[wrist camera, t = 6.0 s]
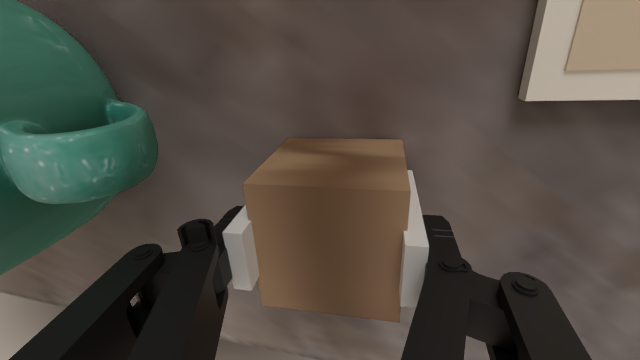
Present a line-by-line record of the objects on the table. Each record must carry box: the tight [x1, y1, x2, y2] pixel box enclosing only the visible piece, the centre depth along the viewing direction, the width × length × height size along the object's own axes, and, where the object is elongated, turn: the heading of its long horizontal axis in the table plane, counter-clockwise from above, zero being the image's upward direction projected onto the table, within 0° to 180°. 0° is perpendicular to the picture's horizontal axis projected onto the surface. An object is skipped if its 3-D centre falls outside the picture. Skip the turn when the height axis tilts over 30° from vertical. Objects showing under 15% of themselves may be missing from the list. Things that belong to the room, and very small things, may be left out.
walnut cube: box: [242, 138, 411, 322], centre depth 15 cm, size 6×6×6 cm
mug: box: [0, 0, 158, 275], centre depth 14 cm, size 17×13×10 cm
